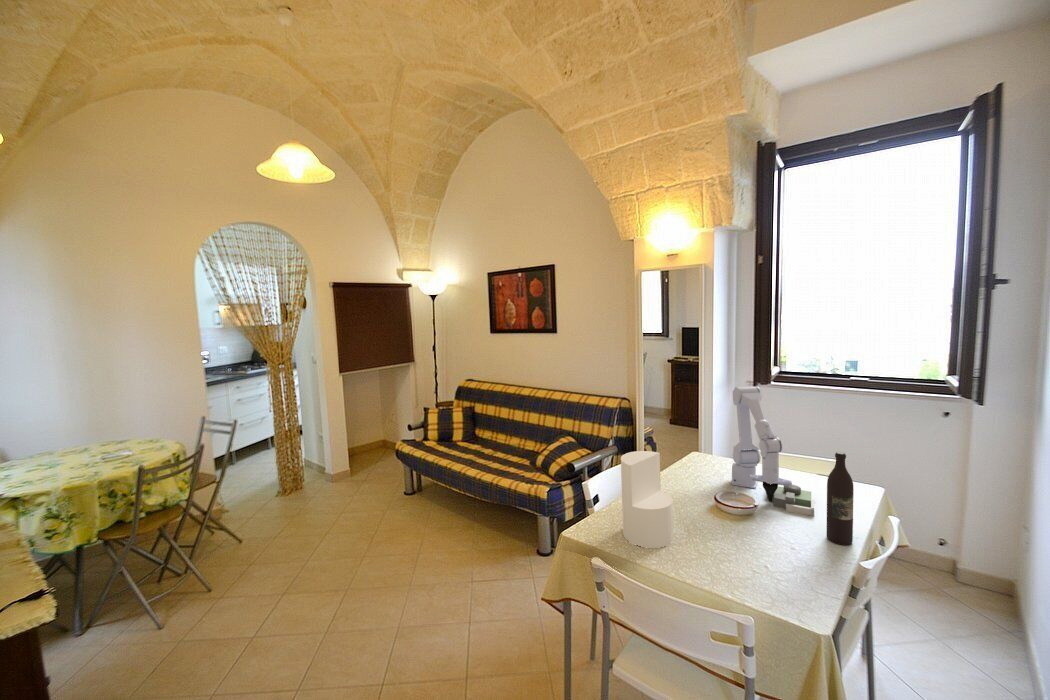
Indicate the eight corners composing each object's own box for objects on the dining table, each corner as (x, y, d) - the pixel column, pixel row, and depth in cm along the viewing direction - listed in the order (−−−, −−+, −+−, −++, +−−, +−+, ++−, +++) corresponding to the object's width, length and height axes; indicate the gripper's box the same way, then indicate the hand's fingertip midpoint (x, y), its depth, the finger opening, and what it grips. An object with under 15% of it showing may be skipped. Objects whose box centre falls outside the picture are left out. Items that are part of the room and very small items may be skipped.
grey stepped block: (773, 506, 169) (773, 494, 169) (774, 501, 173) (774, 490, 173) (794, 510, 165) (794, 498, 165) (795, 504, 169) (795, 493, 169)
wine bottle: (828, 543, 142) (829, 455, 139) (824, 533, 148) (825, 448, 145) (854, 547, 139) (856, 457, 136) (850, 537, 145) (851, 450, 142)
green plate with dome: (765, 507, 169) (765, 496, 168) (769, 490, 183) (769, 480, 183) (814, 516, 160) (814, 504, 159) (814, 498, 174) (814, 487, 174)
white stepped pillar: (613, 535, 154) (610, 459, 151) (641, 518, 165) (639, 447, 162) (655, 554, 140) (653, 472, 138) (683, 535, 151) (681, 458, 149)
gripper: (748, 468, 171) (748, 500, 173) (791, 474, 163) (791, 508, 164) (750, 462, 177) (751, 494, 178) (792, 468, 169) (792, 501, 170)
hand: (770, 500), depth 172 cm, fingers closed
